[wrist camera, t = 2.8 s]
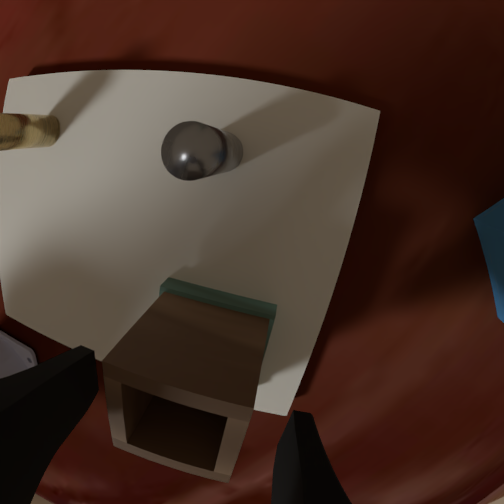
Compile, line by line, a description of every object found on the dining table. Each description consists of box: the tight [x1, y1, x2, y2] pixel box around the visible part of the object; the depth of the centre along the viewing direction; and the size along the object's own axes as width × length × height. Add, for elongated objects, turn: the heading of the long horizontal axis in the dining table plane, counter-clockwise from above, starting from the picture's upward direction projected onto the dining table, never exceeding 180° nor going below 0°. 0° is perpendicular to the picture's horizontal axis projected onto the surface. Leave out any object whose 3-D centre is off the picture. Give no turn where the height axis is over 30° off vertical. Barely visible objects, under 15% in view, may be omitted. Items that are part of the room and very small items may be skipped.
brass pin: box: [0, 113, 60, 151], centre depth 10 cm, size 2×2×4 cm
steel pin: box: [161, 121, 243, 181], centre depth 10 cm, size 2×2×4 cm
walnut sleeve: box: [102, 277, 277, 483], centre depth 11 cm, size 5×5×6 cm
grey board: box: [0, 70, 380, 416], centre depth 14 cm, size 15×19×1 cm
